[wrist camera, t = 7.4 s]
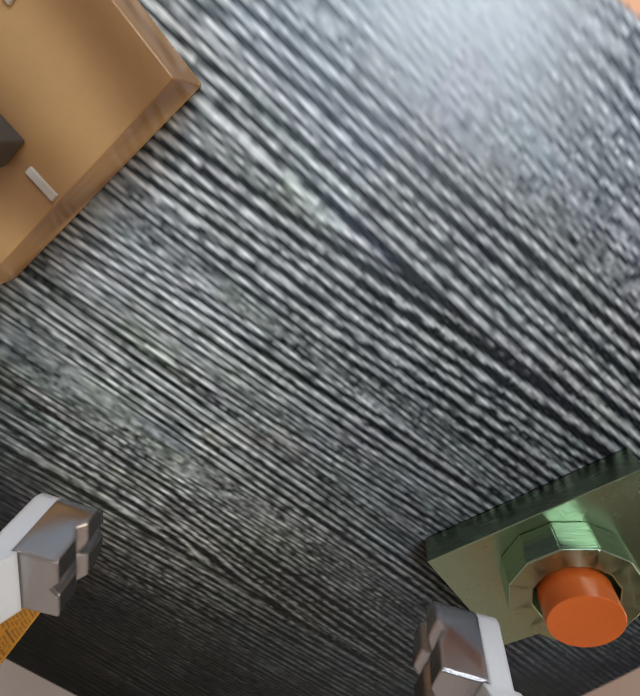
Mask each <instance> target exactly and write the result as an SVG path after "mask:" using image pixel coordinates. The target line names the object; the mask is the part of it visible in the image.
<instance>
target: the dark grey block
mask: <svg viewBox="0 0 640 696" xmlns="http://www.w3.org/2000/svg"><path fill="white" fill-rule="evenodd" d="M23 143H24V139H23V138H22V137H21V136H20V135H19V134H18V133H17V132H16V130H15V129H14V128H13V127H12V126H11V125H10V124H9V123H8V121H7V120H6V119H5V118H4V117H3V116H2V115H1V114H0V167H4V165H5V164H6V163H7V162H8V161H9V160H10V158H11V157H12V156H13V155H14V154H15V153H16V151H17V150H18V149H19V148H20V147H21V146H22V144H23Z"/></svg>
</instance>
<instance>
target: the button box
mask: <svg viewBox="0 0 640 696" xmlns="http://www.w3.org/2000/svg"><path fill="white" fill-rule="evenodd" d="M425 541H426V552H427V562H428V563H429V564H430V565H431V567H432V568H433V569H434V570H435V571H436V572H437V573H438V575H439V576H440V577H441V578H442V579H443V580H444V581H445V582H446V584H447V585H448V586H449V587H450V588H451V589H452V590H453V592H454V593H455V594H456V595H457V596H458V597H459V598H460V599H461V601H462V602H463V603H464V604H465V605H466V606H467V607H468V609H469V610H470V611H473V612H476V613H479V614H483V615H487V616H490V617H494V618H496V619H497V621H498V622H499V626H500V631H501V635H502V640H503V644H504V645H506V644H509V643H512V642H515V641H518V640H521V639H524V638H527V637H530V636H533V635H536V634H541V635H543V636H546V637H548V638H551V639H553V640H557V639H556V638H554V637H553V636H552V635H551V634H550V632H549V631H548V629H547V626H546V623H545V620H544V617H543V614H542V611H541V607H540V604H539V601H538V598H537V592H536V591H537V586H538V584H539V582H540V581H541V580H542V579H543V577H544V576H545V575H547V574H550V573H552V572H555V571H558V570H560V569H563V568H566V567H590V568H593V569H596V570H598V571H600V572H601V573H603V574H604V575H605V576H606V577H607V578H608V579H609V580H610V582H611V584H612V586H613V588H614V590H615V592H616V594H617V596H618V598H619V600H620V602H621V604H622V606H623V608H624V610H625V612H626V615H627V626H628V625H629V624H630V623H631V622H632V621H633V620H634V619H635V618H636V617H637V616H639V615H640V462H639V461H638V460H637V458H636V457H635V456H634V454H633V453H632V452H631V450H630V449H629V448H625V449H623V450H621V451H619V452H617V453H614V454H612V455H610V456H608V457H606V458H603V459H601V460H599V461H597V462H595V463H592V464H590V465H588V466H586V467H583V468H581V469H579V470H577V471H575V472H572V473H570V474H568V475H566V476H564V477H561V478H559V479H557V480H555V481H553V482H550V483H548V484H546V485H544V486H542V487H539V488H537V489H535V490H533V491H530V492H528V493H526V494H524V495H522V496H519V497H517V498H515V499H513V500H511V501H508V502H506V503H504V504H502V505H500V506H497V507H495V508H493V509H491V510H488V511H486V512H484V513H482V514H480V515H477V516H475V517H473V518H471V519H469V520H466V521H464V522H462V523H460V524H458V525H455V526H453V527H451V528H449V529H447V530H444V531H442V532H440V533H438V534H435V535H433V536H431V537H429V538H427V539H425Z"/></svg>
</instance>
